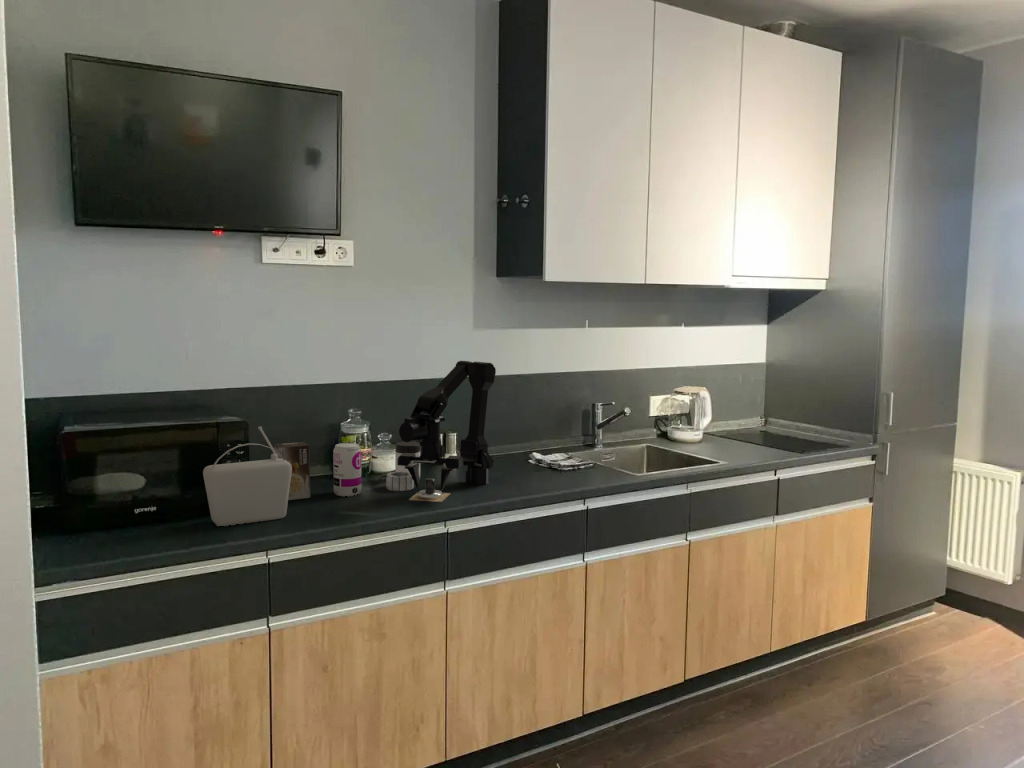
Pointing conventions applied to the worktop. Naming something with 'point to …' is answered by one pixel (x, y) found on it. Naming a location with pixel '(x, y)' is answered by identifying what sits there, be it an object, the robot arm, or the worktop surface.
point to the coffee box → (296, 467)
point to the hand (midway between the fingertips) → (430, 489)
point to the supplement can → (347, 469)
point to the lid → (430, 491)
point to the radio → (248, 489)
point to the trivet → (444, 495)
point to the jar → (406, 448)
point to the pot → (399, 481)
